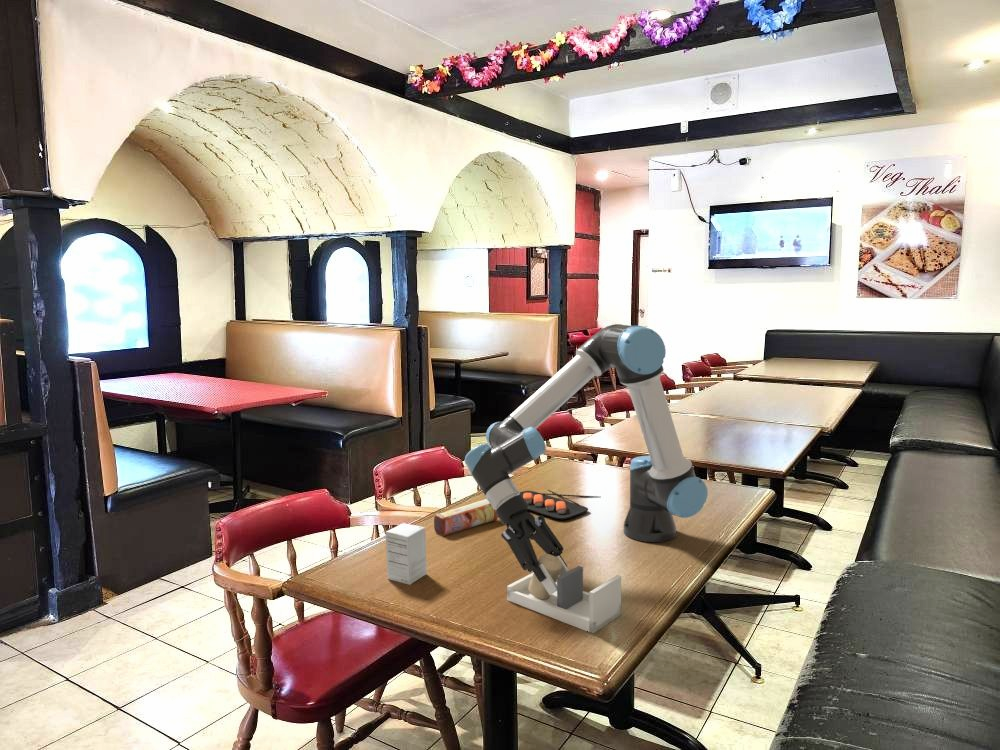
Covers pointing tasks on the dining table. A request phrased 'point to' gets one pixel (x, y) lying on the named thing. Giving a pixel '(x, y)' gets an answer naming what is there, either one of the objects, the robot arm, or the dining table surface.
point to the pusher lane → (584, 614)
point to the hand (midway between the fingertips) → (562, 587)
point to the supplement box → (406, 553)
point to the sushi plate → (553, 504)
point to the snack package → (464, 517)
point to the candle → (553, 569)
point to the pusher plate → (570, 588)
